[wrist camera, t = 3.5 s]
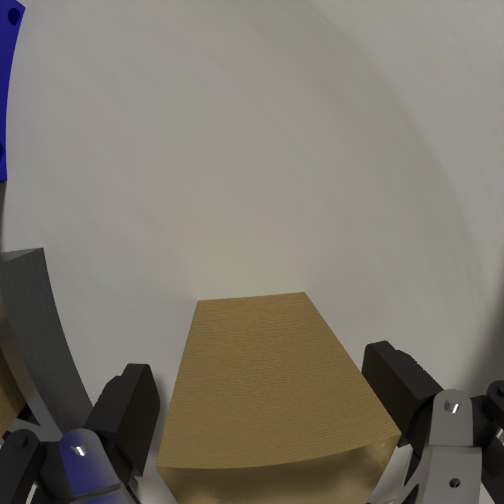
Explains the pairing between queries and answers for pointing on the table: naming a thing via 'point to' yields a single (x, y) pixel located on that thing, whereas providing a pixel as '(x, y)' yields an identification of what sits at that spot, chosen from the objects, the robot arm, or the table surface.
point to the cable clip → (7, 65)
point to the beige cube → (8, 396)
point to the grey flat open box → (39, 351)
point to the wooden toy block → (271, 410)
